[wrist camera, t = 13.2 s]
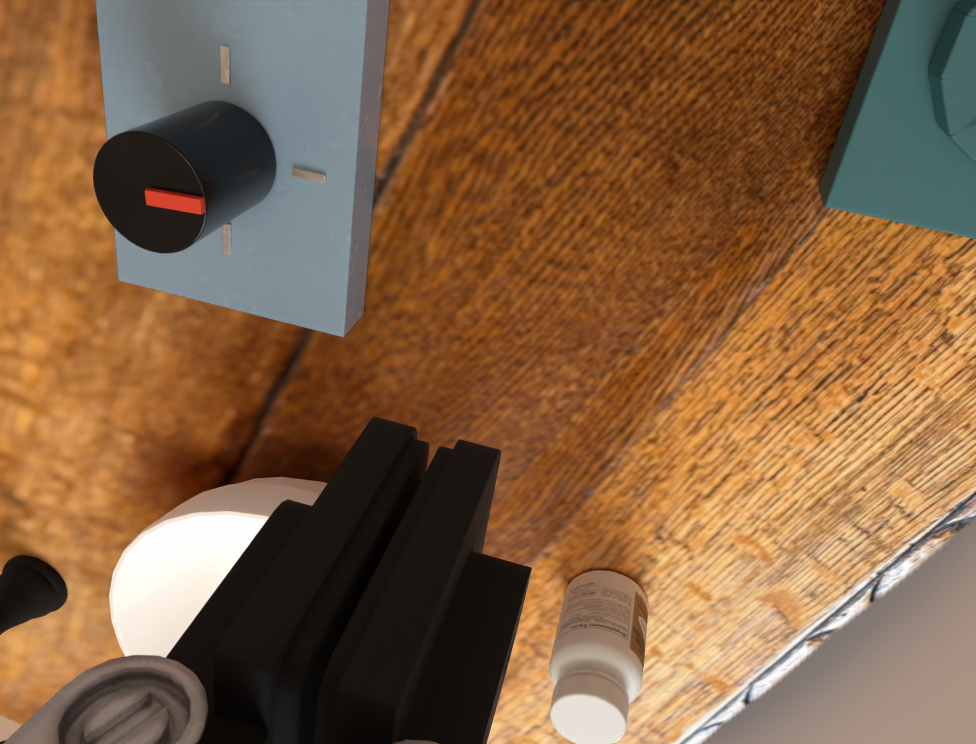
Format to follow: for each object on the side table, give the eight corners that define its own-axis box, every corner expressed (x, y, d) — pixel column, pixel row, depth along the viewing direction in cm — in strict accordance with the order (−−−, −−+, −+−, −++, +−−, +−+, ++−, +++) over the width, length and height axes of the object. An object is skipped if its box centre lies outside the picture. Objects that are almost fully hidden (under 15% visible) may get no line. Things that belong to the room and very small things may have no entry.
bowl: (481, 710, 50) (449, 822, 44) (203, 642, 53) (136, 738, 47) (504, 461, 41) (467, 558, 35) (167, 397, 44) (78, 475, 38)
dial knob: (182, 199, 35) (96, 246, 31) (172, 93, 33) (77, 124, 28) (279, 216, 35) (206, 266, 30) (275, 108, 33) (196, 143, 28)
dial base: (130, -61, 33) (87, -59, 31) (391, -10, 32) (366, -4, 30) (149, 261, 40) (115, 281, 38) (363, 314, 39) (342, 339, 37)
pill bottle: (638, 640, 45) (625, 766, 38) (558, 618, 45) (531, 738, 39) (658, 580, 42) (648, 703, 36) (573, 557, 43) (547, 674, 36)
